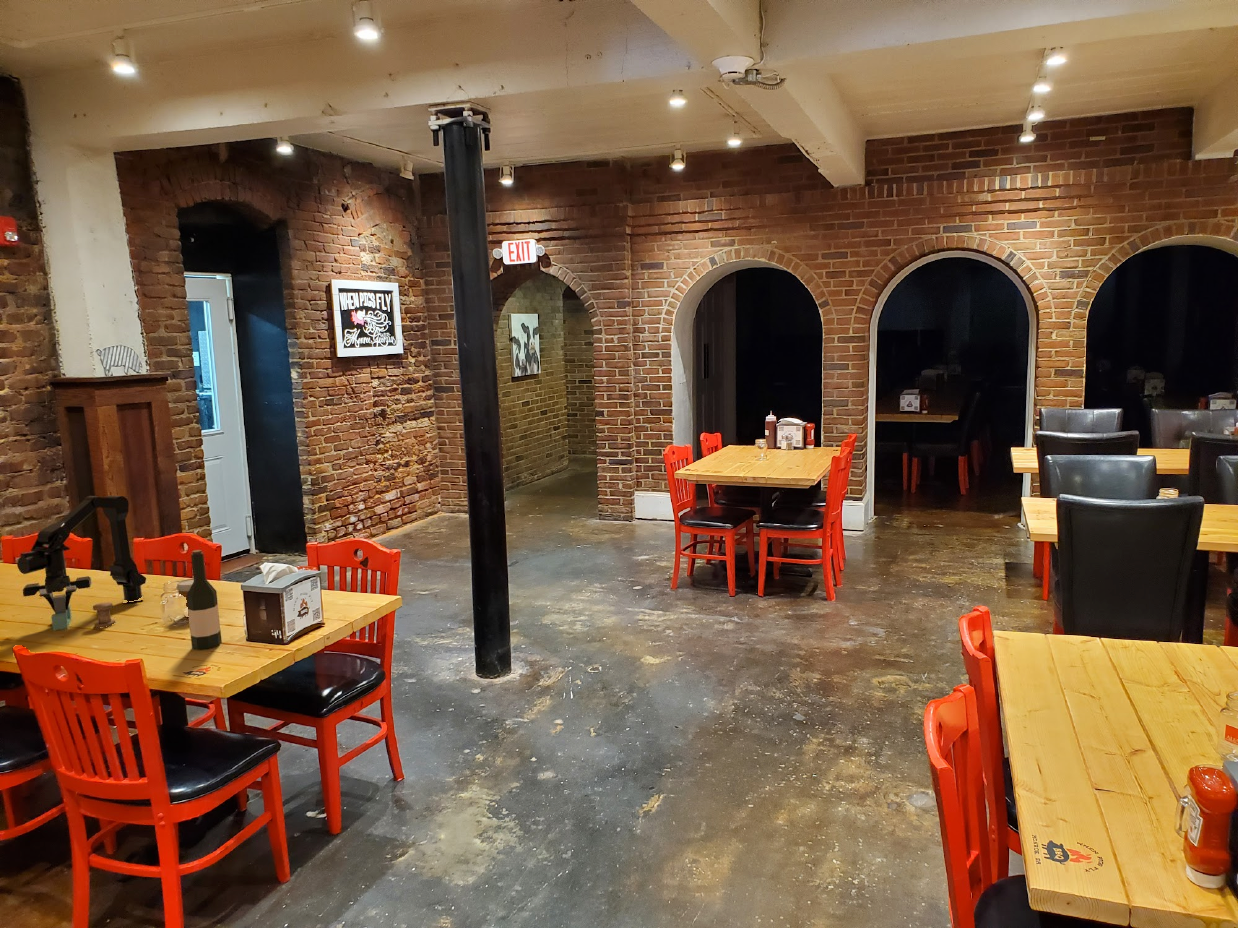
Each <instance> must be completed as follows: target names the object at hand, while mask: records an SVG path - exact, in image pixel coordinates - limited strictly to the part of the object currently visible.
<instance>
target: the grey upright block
mask: <svg viewBox="0 0 1238 928" xmlns="http://www.w3.org/2000/svg"><path fill="white" fill-rule="evenodd" d="M53 597H54V598H53V602H54V609H55V612H54V614H59V613H66V612H67V610H66V595H65V593H64V594H57V595H53Z"/></svg>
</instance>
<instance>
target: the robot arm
mask: <svg viewBox="0 0 1238 928" xmlns="http://www.w3.org/2000/svg"><path fill="white" fill-rule="evenodd" d="M98 508H100V509H102V511H103V514H104V516H105V517H106V518H107V520H108V521H109V526H110V533H111V541H112V547H113V553H114V555H113V556H114V561H113V563H112V564H109V565H108V566H109V571H110V573H109V576H110V577H111V578H112V580H113V581H115V582H116V584H117V586H122V592H123V599H124V600H127V601H128V602H129V601H134V600H138V599H139V598H141V597H142V596H143V592H142V585H144V584H145V585H146V583H147V582H146V581H147V577H146V576H144V575H143V574H142V573H140V572H139V568H138V567H137V565H138V564H136V562H135V560H134V559H133V558H132V557H131V549H130V544H129V537H128V535H129V534H128V528H127V522H126V520H127V519H126V518H127V516H128V514H129V513H130V512H129V509H130V502H129V499H128V498H127V497H126V496H123V495H106V496H105V497H101V496H97V495H88V496H86V497H85V498H83V500H82V501H81V502H80V503H79V504H78V505H76V506H75V507H74V508H73V509H71V511H69V512H68V513H67V514H66V515H64V517H63V518H61V519H60V520H59V521H56V522H55V523H52V524H50V525H48V526H45V527H44V528H43V529H41V530H39V532H38V533H37V537H36V539H35V542H34V543H33V545H32V547H31V549H30V551H28V552H21V553H20V557H19V558H18V559H17V562H16V565H17V569H18V571H19V572H20V573H21V574H23V575H27V574H31V573H34V572H38V571H41V570H44V571H45V580H44V584H41V585H40V583H39V582H37V583H36V582H35V583H27V584H26V585H24V587H23V589H22V594H23V597H31V596H35V595H37V593H38V592H39V595H38V596H39V597H41V598H42V597H43V598H44V599H45V600H46V601H47V603H48V604H49V605H50V607H51V608H52V610H53V612H54V613H55V609H54V602H53V598H54V594H53V593H62V592H64V590H65V589H66V590H65V592H64V594H65V596H66V610H68V607H69V605H70V603H71V602H70V601H71V598H72V595H73V593H75V592H77V590H80V589H81V590H82V589H88V588H91V585H92V584H93V583H92V578H91V577H90V576H88V575H87V576H81V577H76V580H73V581H71V578H70V575H67V567H66V561H65V554H64V553H65V552H66V551H70V549H71V548H70V546H69V547H68V546H67V545H66V544H64V543H65V542H66V541H67V539H69V537H70V536H71V532H72V531H73V530H74V528H76V527H77V526H78V525H79V524H80V523H82V522H83V521H84V520H85V519H86V518H87V517H88V516H90V515H91V514H92V513H93V512H94V511H96V510H97V509H98Z"/></svg>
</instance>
